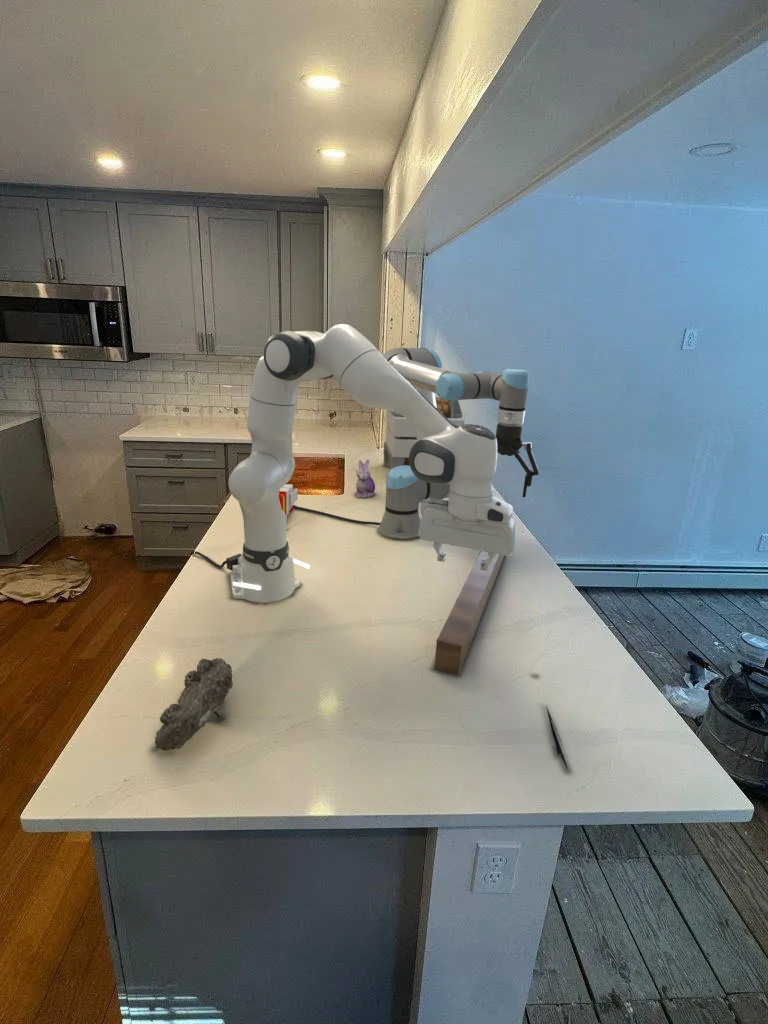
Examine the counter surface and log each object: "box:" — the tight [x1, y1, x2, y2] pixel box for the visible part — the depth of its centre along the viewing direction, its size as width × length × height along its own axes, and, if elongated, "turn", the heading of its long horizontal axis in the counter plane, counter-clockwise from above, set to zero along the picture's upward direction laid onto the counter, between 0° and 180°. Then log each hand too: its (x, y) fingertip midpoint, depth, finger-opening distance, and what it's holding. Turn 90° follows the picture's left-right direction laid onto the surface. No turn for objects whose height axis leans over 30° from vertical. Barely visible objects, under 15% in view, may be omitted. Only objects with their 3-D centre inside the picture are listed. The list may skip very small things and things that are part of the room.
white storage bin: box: [383, 396, 465, 471], centre depth 268 cm, size 34×33×41 cm
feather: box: [535, 673, 569, 770], centre depth 112 cm, size 2×28×2 cm
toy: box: [279, 483, 299, 518], centre depth 210 cm, size 12×13×30 cm
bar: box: [433, 551, 506, 676], centre depth 154 cm, size 69×6×7 cm, turn 160°
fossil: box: [154, 657, 234, 752], centre depth 107 cm, size 22×10×15 cm
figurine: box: [355, 459, 376, 499], centre depth 237 cm, size 9×10×15 cm
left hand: (462, 564), depth 122 cm, fingers open, 8 cm apart
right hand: (501, 492), depth 173 cm, fingers open, 13 cm apart
